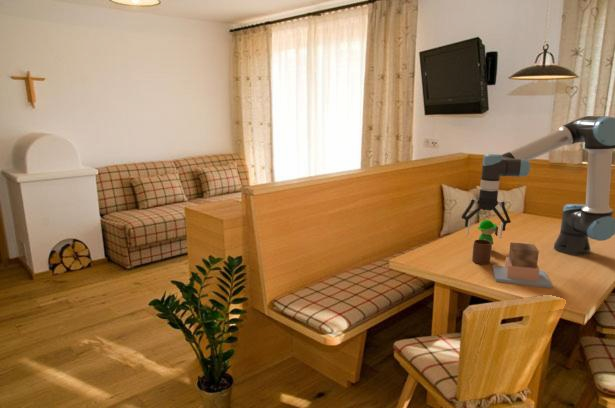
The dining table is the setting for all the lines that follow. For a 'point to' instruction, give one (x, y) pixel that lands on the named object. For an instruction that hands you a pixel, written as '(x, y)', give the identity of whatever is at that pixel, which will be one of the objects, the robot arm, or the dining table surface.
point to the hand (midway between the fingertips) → (483, 235)
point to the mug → (482, 251)
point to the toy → (487, 230)
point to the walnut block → (523, 255)
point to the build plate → (519, 281)
